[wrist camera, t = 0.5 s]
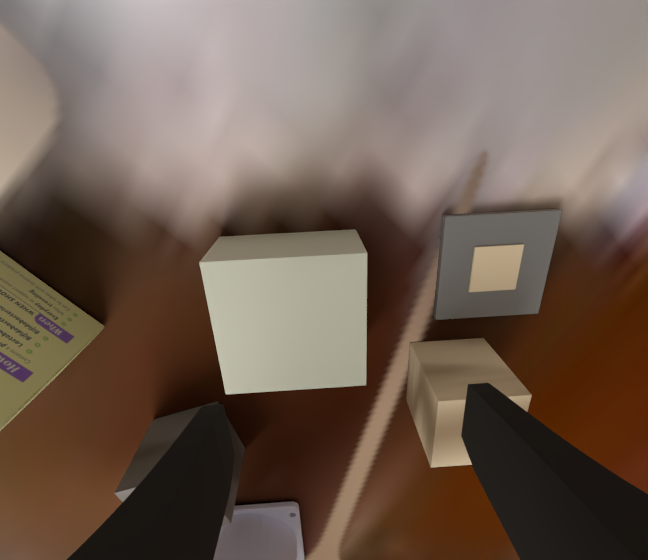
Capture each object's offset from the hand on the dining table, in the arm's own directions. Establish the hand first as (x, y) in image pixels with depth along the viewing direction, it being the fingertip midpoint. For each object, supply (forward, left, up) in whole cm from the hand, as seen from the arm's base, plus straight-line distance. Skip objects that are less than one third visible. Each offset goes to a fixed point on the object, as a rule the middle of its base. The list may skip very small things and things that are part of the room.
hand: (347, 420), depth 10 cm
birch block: (-6, -7, -10) cm, 14 cm away
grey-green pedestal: (0, +2, -10) cm, 10 cm away
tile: (+1, -9, -10) cm, 13 cm away
